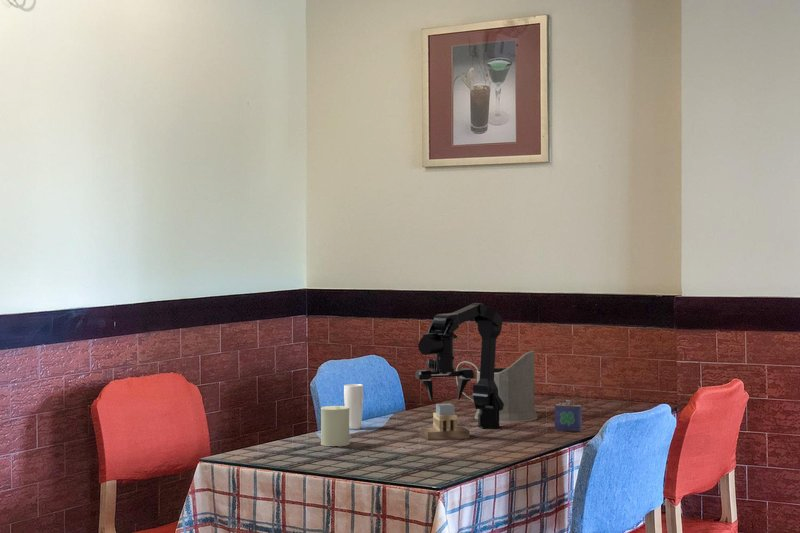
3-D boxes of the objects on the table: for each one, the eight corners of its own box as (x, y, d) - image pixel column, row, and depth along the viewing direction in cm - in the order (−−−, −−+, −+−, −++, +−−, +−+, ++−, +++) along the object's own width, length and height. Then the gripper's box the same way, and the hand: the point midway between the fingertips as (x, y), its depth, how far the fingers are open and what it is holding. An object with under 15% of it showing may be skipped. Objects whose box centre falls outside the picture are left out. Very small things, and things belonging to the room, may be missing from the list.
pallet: (450, 426, 330) (450, 411, 330) (457, 430, 322) (457, 415, 322) (433, 427, 328) (433, 412, 328) (439, 431, 320) (439, 416, 320)
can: (327, 447, 307) (327, 408, 307) (316, 443, 315) (316, 405, 315) (354, 445, 311) (354, 406, 311) (342, 440, 319) (342, 403, 319)
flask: (582, 431, 334) (582, 399, 334) (580, 432, 331) (580, 400, 331) (555, 430, 337) (555, 398, 337) (553, 431, 335) (553, 399, 335)
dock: (461, 433, 331) (461, 426, 331) (469, 438, 322) (469, 430, 322) (421, 435, 328) (421, 428, 328) (427, 440, 319) (427, 432, 319)
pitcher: (524, 423, 352) (523, 353, 352) (443, 418, 367) (443, 350, 367) (546, 415, 372) (545, 348, 372) (469, 410, 387) (468, 346, 387)
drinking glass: (360, 430, 340) (360, 386, 340) (341, 429, 341) (341, 386, 341) (365, 427, 346) (365, 384, 346) (346, 426, 348) (346, 383, 348)
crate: (450, 412, 328) (450, 403, 328) (454, 414, 323) (454, 405, 323) (435, 413, 327) (435, 404, 327) (439, 415, 322) (439, 406, 322)
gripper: (465, 350, 336) (465, 396, 335) (411, 351, 331) (411, 398, 331) (474, 352, 325) (475, 400, 325) (419, 354, 321) (419, 402, 320)
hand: (445, 400), depth 326 cm, fingers open, 9 cm apart
